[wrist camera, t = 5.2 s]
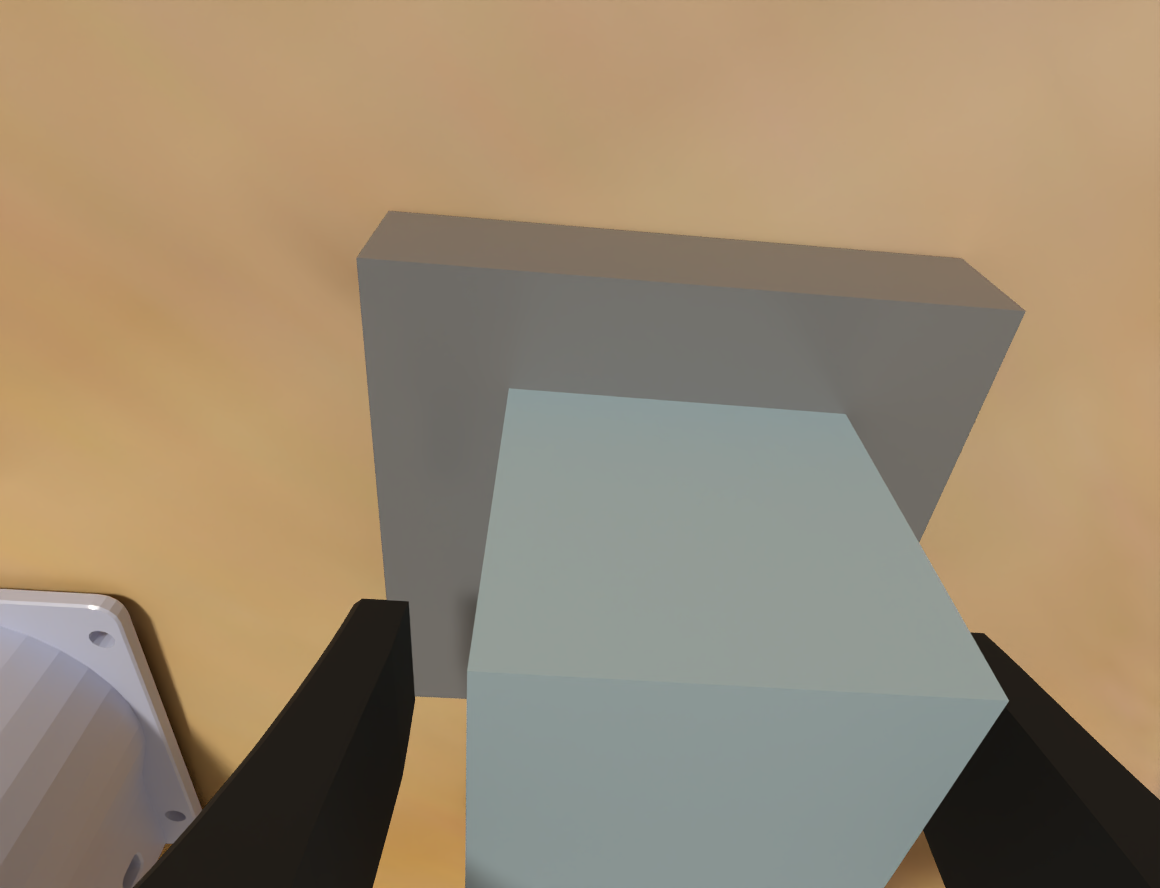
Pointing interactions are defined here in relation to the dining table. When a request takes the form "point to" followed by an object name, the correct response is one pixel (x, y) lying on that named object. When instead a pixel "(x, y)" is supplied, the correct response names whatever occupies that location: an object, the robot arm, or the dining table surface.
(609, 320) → the slate base
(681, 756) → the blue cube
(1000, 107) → the dining table surface
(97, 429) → the dining table surface
